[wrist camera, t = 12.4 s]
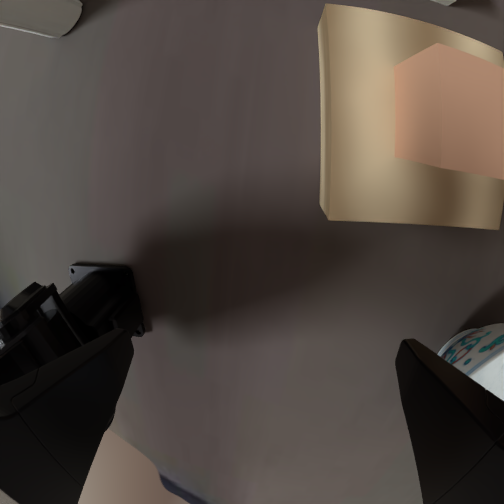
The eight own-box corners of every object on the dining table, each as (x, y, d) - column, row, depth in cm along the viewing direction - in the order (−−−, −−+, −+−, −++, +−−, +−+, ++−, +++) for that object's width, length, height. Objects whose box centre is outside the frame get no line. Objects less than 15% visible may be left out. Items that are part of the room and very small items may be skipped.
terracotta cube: (394, 157, 14) (440, 167, 9) (393, 66, 12) (437, 42, 7) (467, 168, 13) (522, 184, 9) (468, 85, 11) (522, 77, 7)
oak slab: (319, 204, 19) (328, 220, 15) (317, 27, 15) (325, 3, 11) (468, 213, 18) (498, 230, 14) (471, 60, 14) (502, 52, 10)
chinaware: (398, 422, 27) (413, 476, 19) (384, 328, 22) (413, 397, 15) (505, 371, 23) (531, 413, 16) (519, 265, 19) (568, 305, 12)
